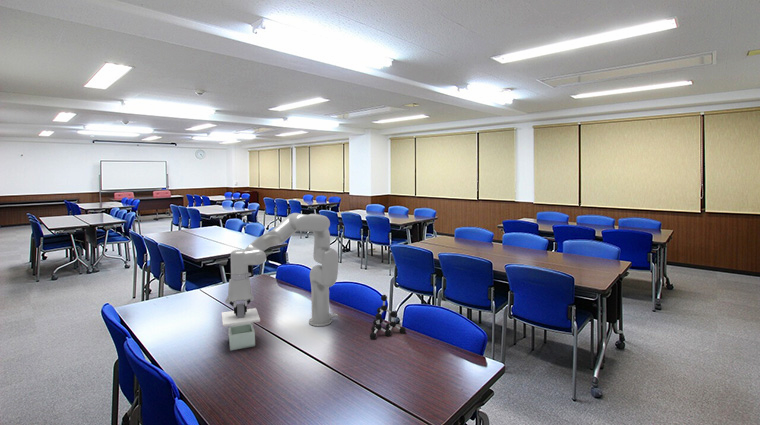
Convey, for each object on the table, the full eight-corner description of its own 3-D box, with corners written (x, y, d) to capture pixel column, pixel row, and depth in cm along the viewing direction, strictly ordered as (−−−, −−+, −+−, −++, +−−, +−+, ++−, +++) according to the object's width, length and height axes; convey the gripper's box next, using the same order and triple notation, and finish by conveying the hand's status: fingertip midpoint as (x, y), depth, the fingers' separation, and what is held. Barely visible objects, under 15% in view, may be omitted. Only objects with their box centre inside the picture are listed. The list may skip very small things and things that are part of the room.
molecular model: (375, 323, 204) (375, 288, 202) (406, 332, 193) (407, 295, 191) (355, 335, 189) (355, 297, 187) (388, 345, 178) (388, 304, 176)
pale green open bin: (252, 336, 186) (252, 323, 185) (255, 346, 176) (254, 331, 175) (228, 340, 181) (228, 326, 181) (230, 350, 171) (229, 335, 171)
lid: (256, 309, 188) (255, 298, 187) (260, 321, 173) (260, 308, 173) (221, 314, 181) (221, 302, 180) (222, 326, 167) (222, 313, 166)
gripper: (256, 272, 182) (257, 309, 184) (220, 276, 175) (221, 314, 177) (258, 276, 175) (259, 314, 177) (221, 280, 168) (222, 319, 170)
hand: (240, 313), depth 177 cm, fingers closed on lid, 3 cm apart
